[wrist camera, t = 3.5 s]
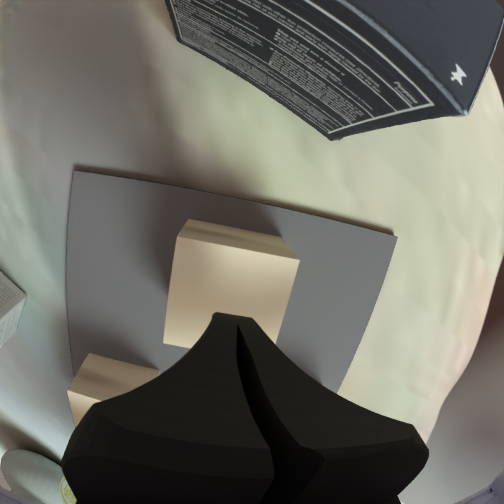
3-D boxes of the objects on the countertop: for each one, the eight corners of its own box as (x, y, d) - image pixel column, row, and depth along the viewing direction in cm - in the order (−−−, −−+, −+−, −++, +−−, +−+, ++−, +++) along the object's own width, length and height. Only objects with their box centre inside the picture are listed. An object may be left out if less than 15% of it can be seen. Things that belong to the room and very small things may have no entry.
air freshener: (91, 496, 24) (77, 555, 14) (38, 478, 23) (19, 531, 13) (63, 451, 21) (35, 523, 11) (5, 429, 20) (-28, 488, 10)
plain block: (260, 319, 17) (270, 360, 14) (175, 305, 17) (163, 343, 13) (282, 237, 16) (300, 260, 12) (188, 218, 15) (177, 236, 12)
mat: (308, 440, 22) (309, 444, 21) (81, 406, 19) (79, 409, 19) (394, 235, 17) (397, 237, 17) (77, 170, 14) (73, 170, 14)
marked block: (157, 418, 19) (148, 461, 15) (94, 403, 19) (78, 441, 14) (159, 370, 18) (148, 415, 14) (89, 352, 17) (65, 392, 13)
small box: (387, 67, 14) (515, 14, 4) (332, 145, 15) (471, 133, 5) (242, -29, 12) (261, -152, 2) (172, 42, 13) (118, -81, 3)
